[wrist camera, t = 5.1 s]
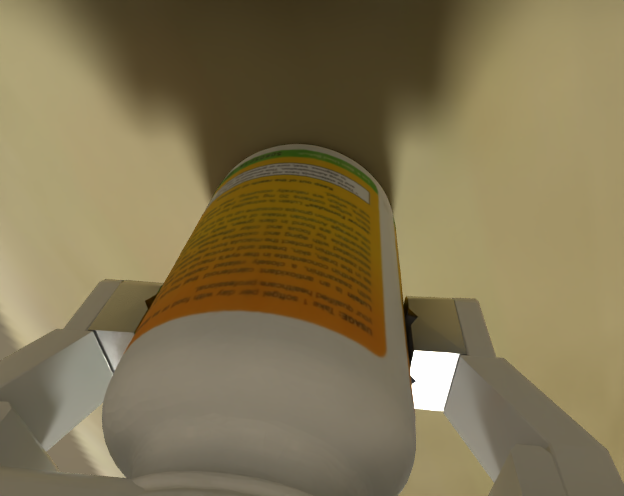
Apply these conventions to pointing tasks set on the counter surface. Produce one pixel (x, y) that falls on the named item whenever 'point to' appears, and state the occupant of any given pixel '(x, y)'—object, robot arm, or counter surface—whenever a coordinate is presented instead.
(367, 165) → the counter surface
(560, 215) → the counter surface
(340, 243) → the supplement bottle
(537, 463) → the robot arm
